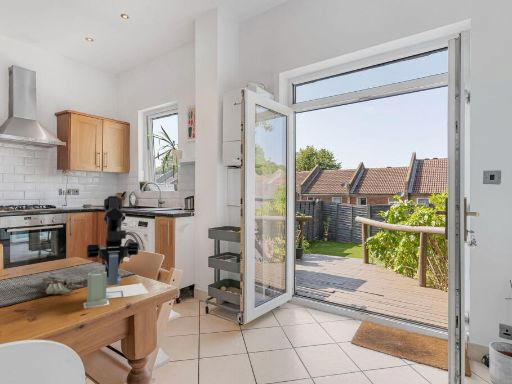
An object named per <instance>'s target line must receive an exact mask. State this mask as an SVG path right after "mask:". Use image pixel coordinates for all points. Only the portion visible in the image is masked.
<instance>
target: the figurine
mask: <svg viewBox="0 0 512 384" xmlns="http://www.w3.org/2000/svg"><path fill="white" fill-rule="evenodd" d="M84 280H85V279H82V280H75V279H68V278H65V279H63V278H61V277H56V276H53V275H52V274H50V275H49V276H44V277H43V278H42V282H41V283H39V284H37V285H28V284H24V286H25V287H28V288H32V289H35V290H36V291H37V292H41V293H45V294H46V295H47V296H48V295H50V296H52V295H55V296H56V295H63V294H68V293H73V292H75V291H74V290H73V288H69V287H78V288H80V287H81V288H82V287H84V285H78V284H77V283H80V282H82V283H81V284H84Z"/></svg>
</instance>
